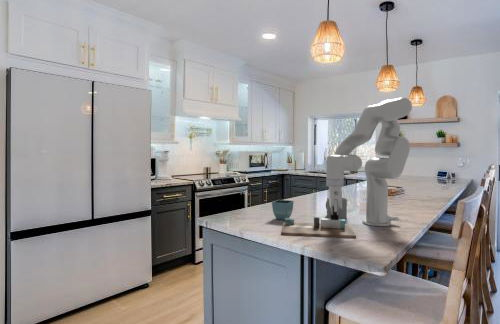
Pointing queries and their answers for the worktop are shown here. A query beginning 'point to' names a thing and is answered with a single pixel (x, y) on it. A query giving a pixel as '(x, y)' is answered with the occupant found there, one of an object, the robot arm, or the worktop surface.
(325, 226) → the swing bar
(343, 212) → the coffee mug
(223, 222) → the worktop surface
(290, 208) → the flower pot
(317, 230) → the walnut board
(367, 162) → the robot arm
